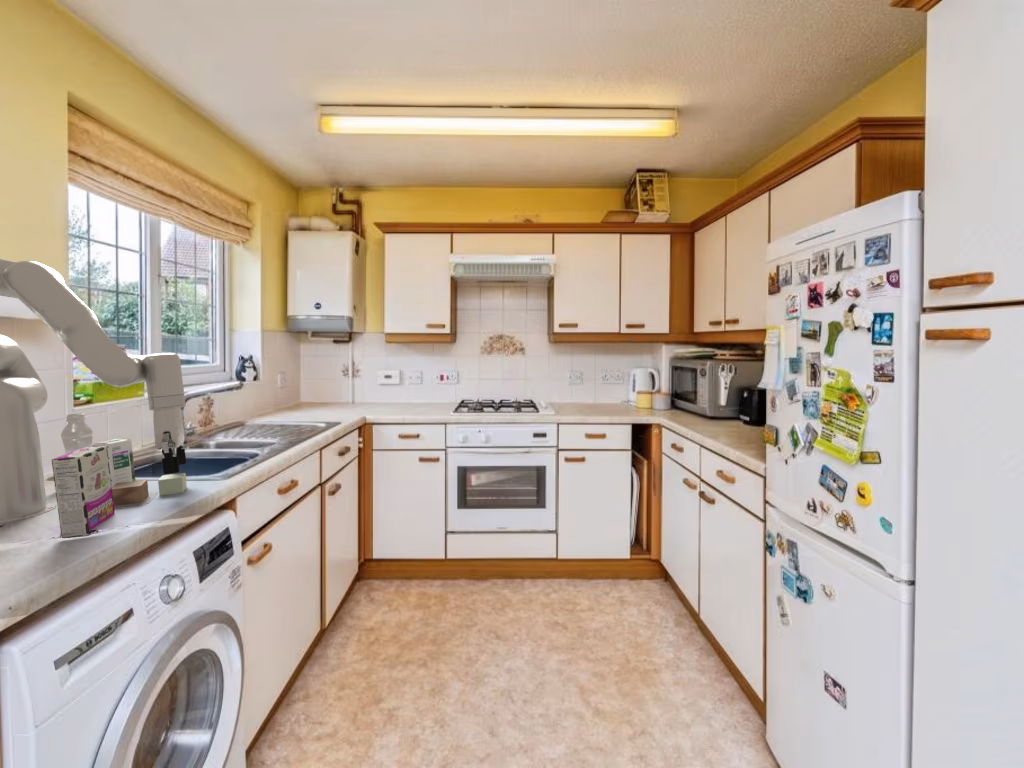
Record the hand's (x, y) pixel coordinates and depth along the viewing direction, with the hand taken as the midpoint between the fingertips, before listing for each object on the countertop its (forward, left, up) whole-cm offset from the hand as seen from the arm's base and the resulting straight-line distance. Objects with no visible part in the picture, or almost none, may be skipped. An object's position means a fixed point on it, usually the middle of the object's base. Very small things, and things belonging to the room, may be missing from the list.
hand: (175, 468), depth 125 cm
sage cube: (-1, 0, -7) cm, 7 cm away
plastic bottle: (-26, +24, -7) cm, 36 cm away
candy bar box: (-13, -19, -7) cm, 24 cm away
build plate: (-9, -4, -7) cm, 12 cm away
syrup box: (-14, +6, -7) cm, 17 cm away
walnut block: (-9, -4, -6) cm, 11 cm away
